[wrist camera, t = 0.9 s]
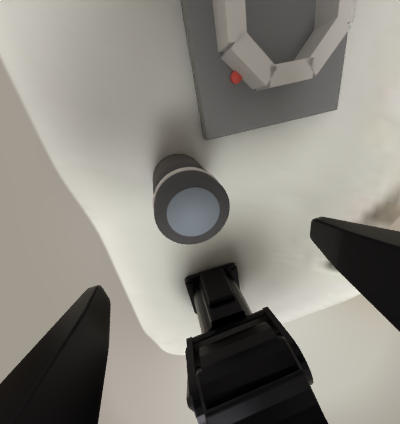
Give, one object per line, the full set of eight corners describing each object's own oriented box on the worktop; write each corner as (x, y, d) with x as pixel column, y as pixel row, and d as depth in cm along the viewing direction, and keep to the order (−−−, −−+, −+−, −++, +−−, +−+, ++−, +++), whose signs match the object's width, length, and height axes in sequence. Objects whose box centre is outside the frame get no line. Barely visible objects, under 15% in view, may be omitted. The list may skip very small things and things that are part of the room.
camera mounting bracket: (326, 110, 18) (366, 108, 15) (204, 138, 17) (217, 143, 13) (355, -153, 11) (440, -266, 8) (156, -143, 10) (160, -273, 7)
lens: (207, 196, 19) (234, 234, 13) (160, 208, 18) (166, 255, 12) (198, 147, 17) (226, 165, 11) (145, 160, 16) (141, 187, 10)
